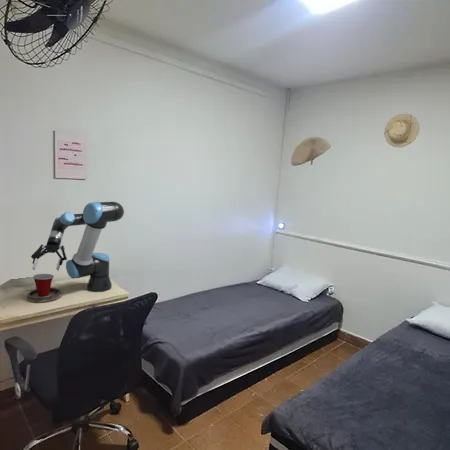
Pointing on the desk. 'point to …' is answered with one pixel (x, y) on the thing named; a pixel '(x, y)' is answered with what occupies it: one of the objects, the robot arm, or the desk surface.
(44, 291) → the plastic cup
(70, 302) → the desk surface
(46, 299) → the cup holder
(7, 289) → the desk surface
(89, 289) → the robot arm
